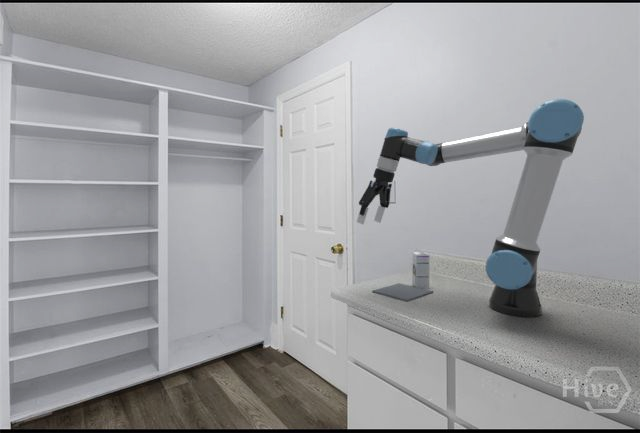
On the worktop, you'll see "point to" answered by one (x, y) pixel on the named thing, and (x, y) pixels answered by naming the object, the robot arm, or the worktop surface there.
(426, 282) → the syrup box
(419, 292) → the mat
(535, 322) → the worktop surface
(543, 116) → the robot arm
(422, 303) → the worktop surface
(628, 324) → the worktop surface
